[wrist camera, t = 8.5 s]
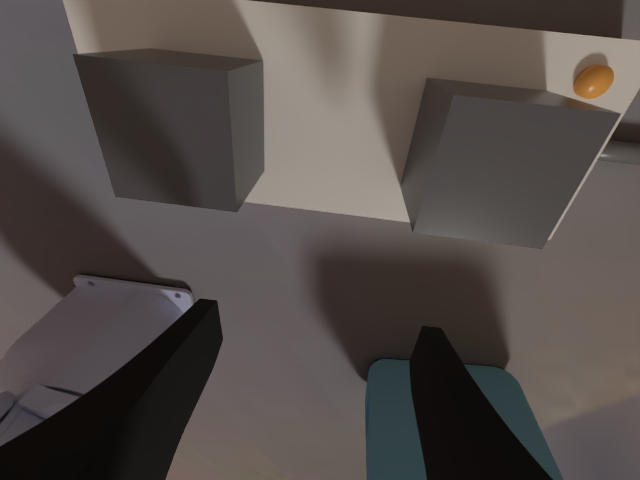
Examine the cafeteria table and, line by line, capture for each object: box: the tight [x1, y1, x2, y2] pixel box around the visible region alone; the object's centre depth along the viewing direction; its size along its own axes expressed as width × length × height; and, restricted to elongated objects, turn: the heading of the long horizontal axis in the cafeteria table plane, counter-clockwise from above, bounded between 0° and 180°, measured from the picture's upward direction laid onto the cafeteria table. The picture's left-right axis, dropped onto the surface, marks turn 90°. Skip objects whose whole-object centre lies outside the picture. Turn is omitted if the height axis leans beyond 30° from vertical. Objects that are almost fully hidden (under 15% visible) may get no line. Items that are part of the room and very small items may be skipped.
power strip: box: [63, 0, 640, 249], centre depth 14 cm, size 28×9×7 cm, turn 85°
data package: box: [365, 359, 563, 480], centre depth 23 cm, size 12×4×12 cm, turn 91°
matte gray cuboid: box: [73, 48, 265, 212], centre depth 14 cm, size 5×5×7 cm
